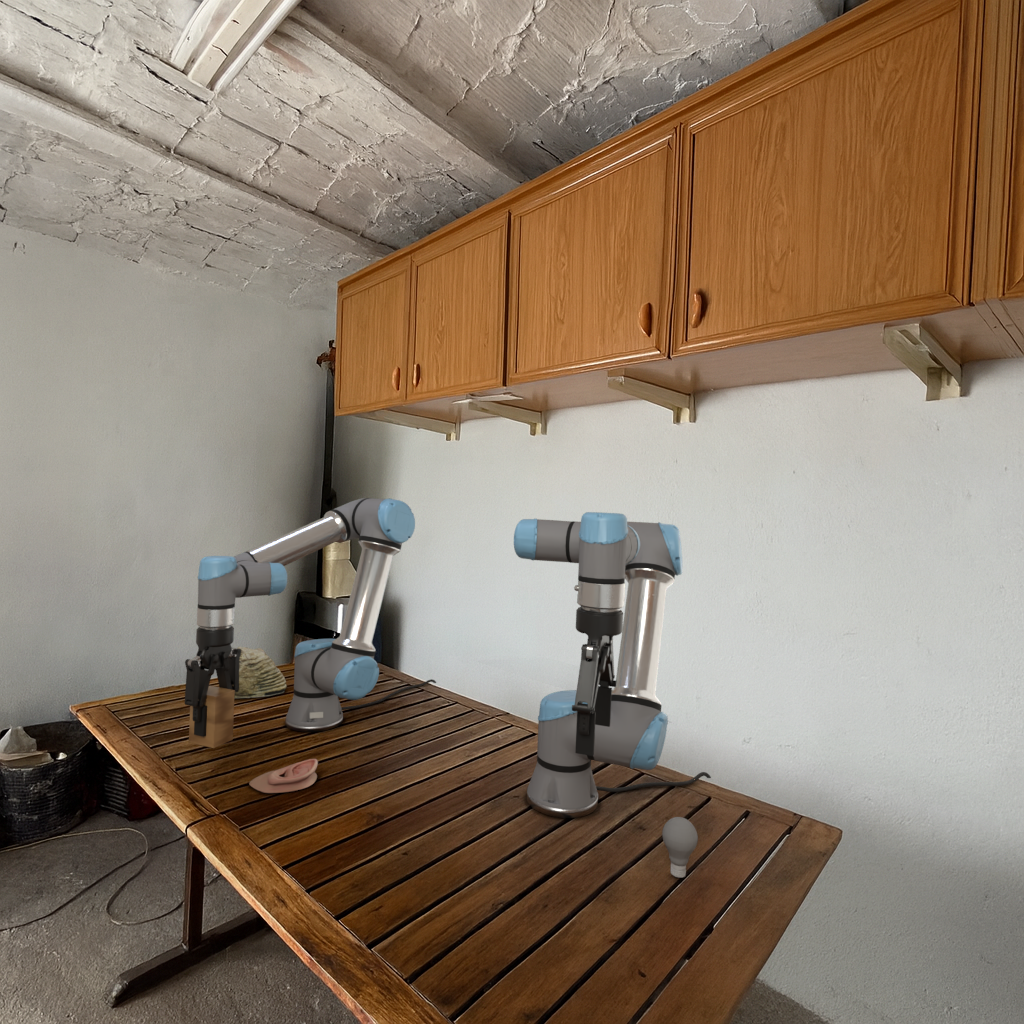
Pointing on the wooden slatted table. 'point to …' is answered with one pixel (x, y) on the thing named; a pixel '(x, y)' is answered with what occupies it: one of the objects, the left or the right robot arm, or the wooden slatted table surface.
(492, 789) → the wooden slatted table surface
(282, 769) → the anatomical model
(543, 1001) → the wooden slatted table surface
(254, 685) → the fossil
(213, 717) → the block
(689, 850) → the light bulb
